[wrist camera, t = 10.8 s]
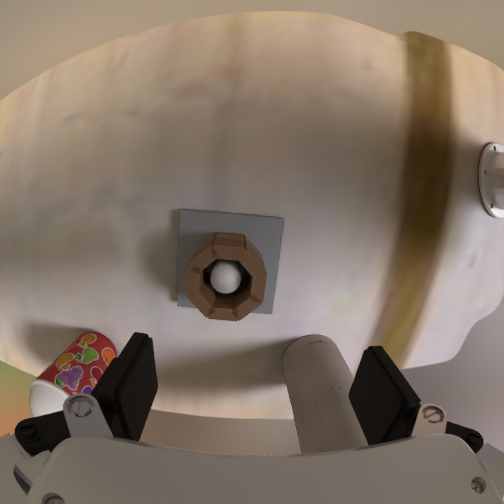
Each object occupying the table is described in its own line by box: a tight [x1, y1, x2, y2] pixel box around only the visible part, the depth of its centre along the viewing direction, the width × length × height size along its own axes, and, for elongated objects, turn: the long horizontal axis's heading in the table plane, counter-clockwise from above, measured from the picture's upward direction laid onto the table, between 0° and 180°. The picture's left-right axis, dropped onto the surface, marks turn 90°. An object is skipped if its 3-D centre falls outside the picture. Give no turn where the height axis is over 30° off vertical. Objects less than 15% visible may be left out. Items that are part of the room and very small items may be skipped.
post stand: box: [177, 209, 284, 314], centre depth 28 cm, size 11×11×6 cm
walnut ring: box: [186, 232, 267, 321], centre depth 27 cm, size 7×7×6 cm
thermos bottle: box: [282, 335, 369, 454], centre depth 22 cm, size 8×8×28 cm
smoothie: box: [29, 332, 117, 417], centre depth 24 cm, size 8×8×20 cm
